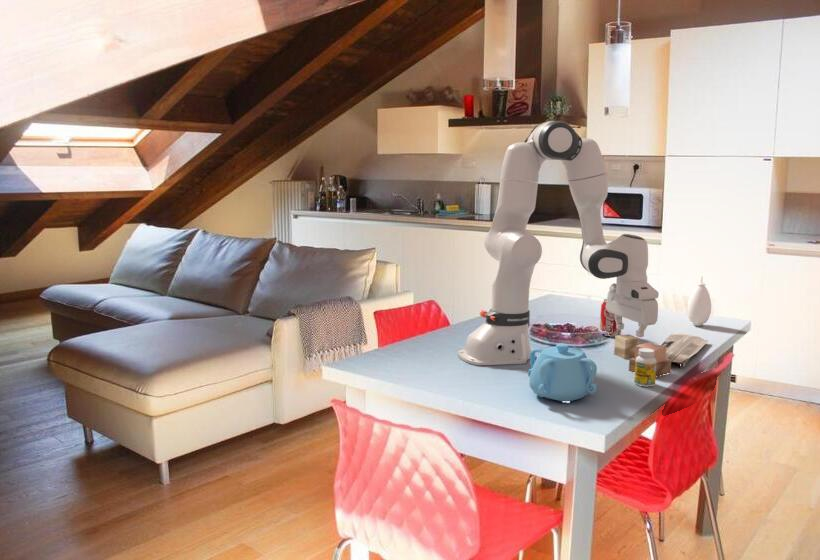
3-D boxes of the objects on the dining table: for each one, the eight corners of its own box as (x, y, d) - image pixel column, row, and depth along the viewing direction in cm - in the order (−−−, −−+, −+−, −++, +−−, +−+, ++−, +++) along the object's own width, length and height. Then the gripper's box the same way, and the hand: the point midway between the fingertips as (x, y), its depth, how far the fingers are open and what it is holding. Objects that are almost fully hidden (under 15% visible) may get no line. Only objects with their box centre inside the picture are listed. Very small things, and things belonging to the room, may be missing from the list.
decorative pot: (525, 384, 190) (527, 335, 187) (586, 385, 189) (588, 336, 186) (532, 406, 174) (534, 353, 171) (598, 407, 173) (601, 354, 170)
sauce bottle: (707, 323, 257) (712, 274, 253) (711, 329, 249) (715, 278, 246) (684, 322, 258) (688, 273, 255) (687, 327, 251) (691, 277, 248)
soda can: (597, 336, 239) (599, 301, 236) (602, 331, 245) (604, 297, 242) (618, 338, 235) (620, 303, 233) (622, 334, 241) (625, 299, 239)
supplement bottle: (656, 383, 191) (659, 349, 189) (652, 389, 187) (655, 354, 185) (636, 380, 194) (638, 346, 192) (631, 385, 189) (634, 351, 187)
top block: (653, 364, 195) (654, 350, 195) (634, 359, 200) (635, 345, 199) (665, 360, 199) (666, 346, 198) (646, 355, 204) (647, 342, 203)
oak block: (624, 359, 213) (625, 339, 212) (614, 354, 218) (615, 335, 217) (637, 357, 215) (639, 338, 214) (627, 353, 220) (628, 334, 218)
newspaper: (669, 339, 238) (670, 328, 237) (708, 344, 231) (709, 334, 231) (645, 366, 208) (646, 354, 207) (690, 373, 202) (691, 361, 201)
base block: (652, 379, 195) (653, 365, 194) (628, 372, 201) (629, 358, 201) (670, 374, 200) (671, 361, 199) (646, 367, 206) (647, 354, 205)
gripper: (601, 283, 221) (600, 325, 224) (644, 295, 202) (642, 342, 205) (618, 281, 223) (617, 323, 226) (662, 293, 204) (660, 339, 207)
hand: (629, 332), depth 215 cm, fingers open, 8 cm apart
